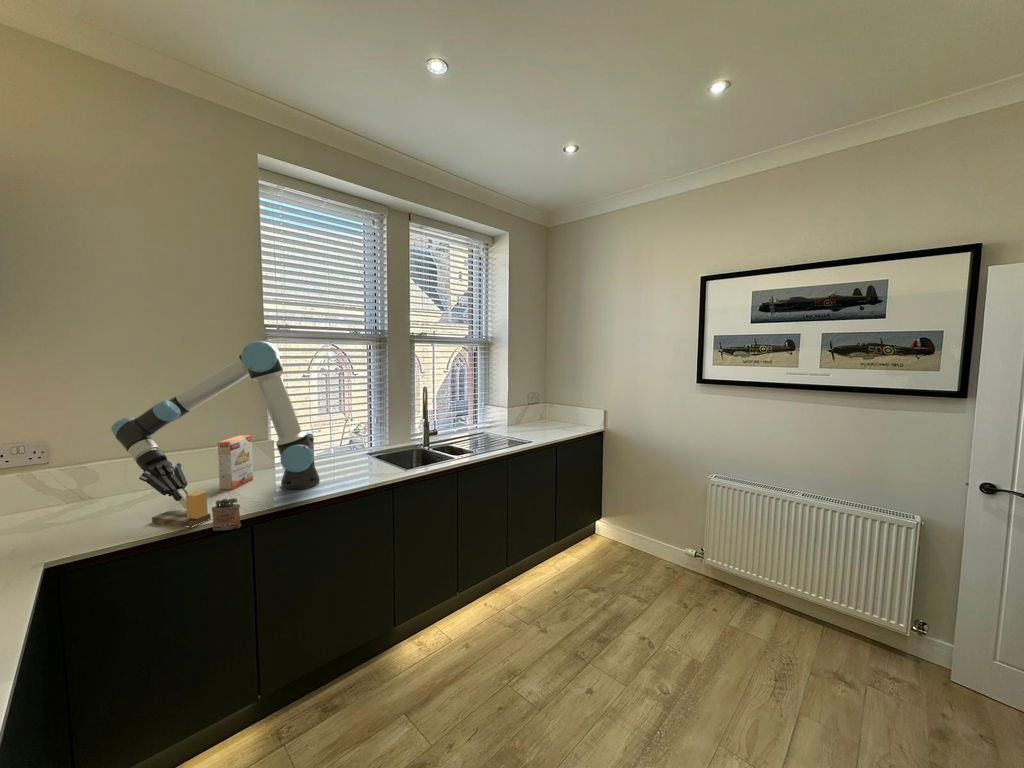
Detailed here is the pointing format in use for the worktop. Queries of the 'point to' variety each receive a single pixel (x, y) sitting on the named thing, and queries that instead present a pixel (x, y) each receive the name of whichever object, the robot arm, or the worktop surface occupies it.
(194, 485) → the worktop surface
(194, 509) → the orange rectangular block
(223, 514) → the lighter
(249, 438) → the cracker box
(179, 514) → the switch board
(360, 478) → the worktop surface
